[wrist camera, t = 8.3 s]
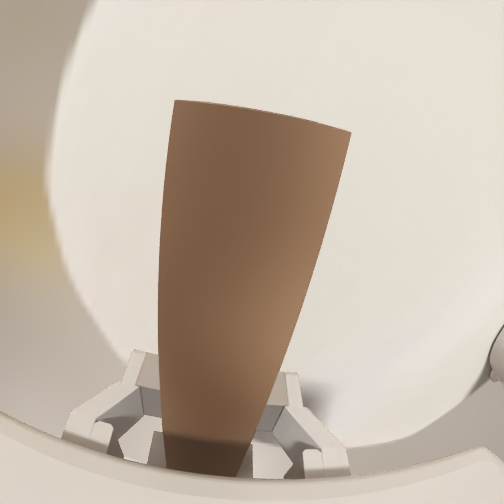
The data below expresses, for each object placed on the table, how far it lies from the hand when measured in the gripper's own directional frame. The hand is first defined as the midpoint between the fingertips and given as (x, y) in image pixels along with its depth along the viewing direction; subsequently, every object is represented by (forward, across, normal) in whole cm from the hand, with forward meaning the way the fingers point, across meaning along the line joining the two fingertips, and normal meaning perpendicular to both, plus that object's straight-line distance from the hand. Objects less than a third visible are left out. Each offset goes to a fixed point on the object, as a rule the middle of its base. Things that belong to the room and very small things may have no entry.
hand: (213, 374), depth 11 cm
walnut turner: (+2, 0, 0) cm, 2 cm away
